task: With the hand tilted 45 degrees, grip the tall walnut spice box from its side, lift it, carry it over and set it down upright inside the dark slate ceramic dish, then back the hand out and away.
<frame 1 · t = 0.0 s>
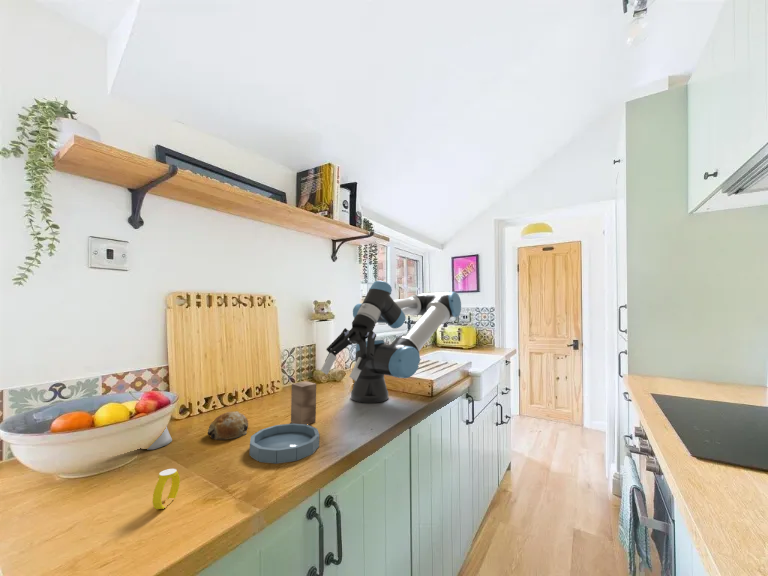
hand: (337, 375, 100), 15 cm above the countertop, tool tilted 35°, fingers open, 13 cm apart
spice box: (303, 422, 102), on the countertop
bread roll: (228, 435, 92), on the countertop
watch: (166, 505, 59), on the countertop
dish: (285, 447, 84), on the countertop
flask: (154, 445, 85), on the countertop
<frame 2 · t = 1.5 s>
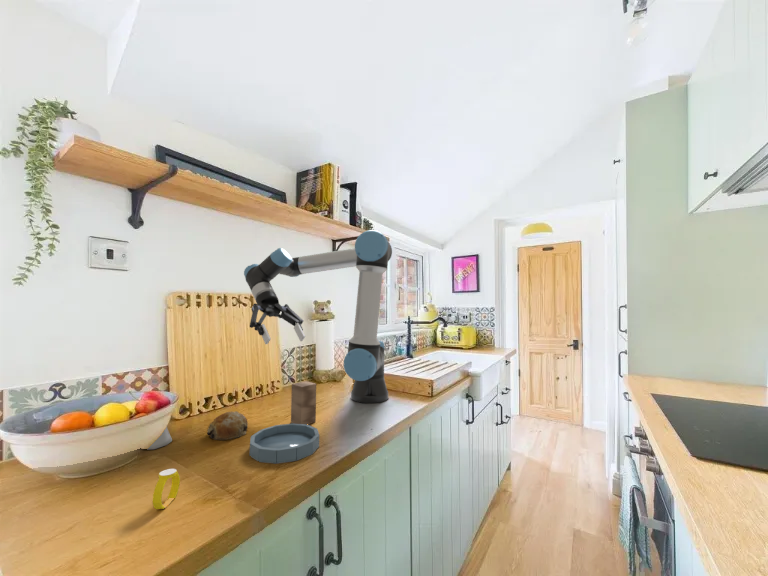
hand: (286, 340, 110), 25 cm above the countertop, tool tilted 45°, fingers open, 13 cm apart
nothing on the countertop moved.
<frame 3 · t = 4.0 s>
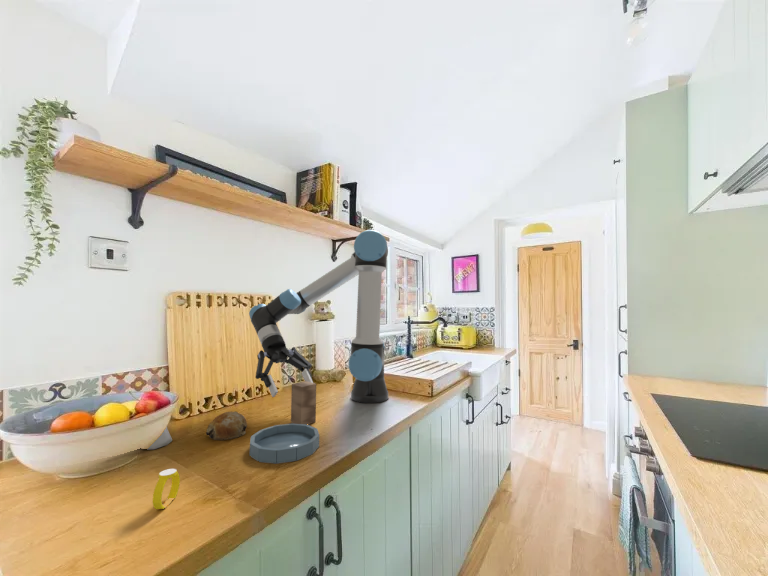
hand: (294, 390, 105), 9 cm above the countertop, tool tilted 45°, fingers open, 13 cm apart
nothing on the countertop moved.
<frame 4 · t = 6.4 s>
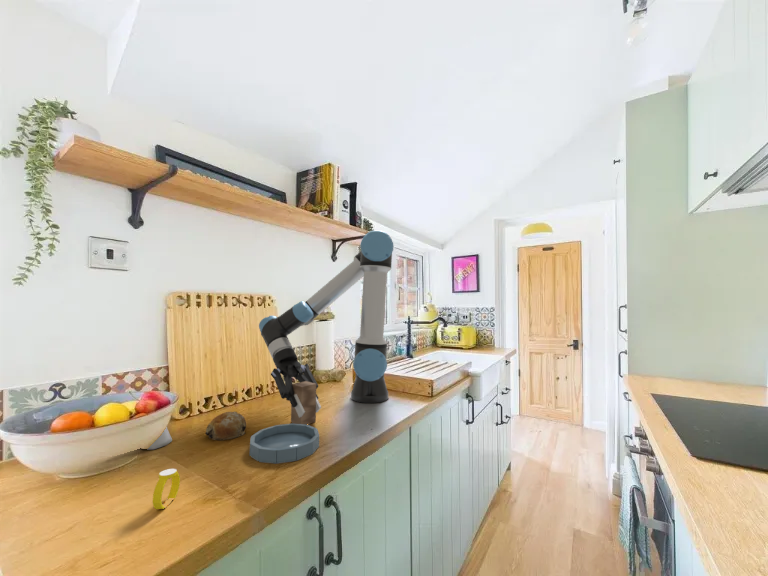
hand: (310, 412, 100), 4 cm above the countertop, tool tilted 45°, fingers closed on spice box, 5 cm apart
spice box: (303, 422, 102), on the countertop, touching gripper
everything else where it was.
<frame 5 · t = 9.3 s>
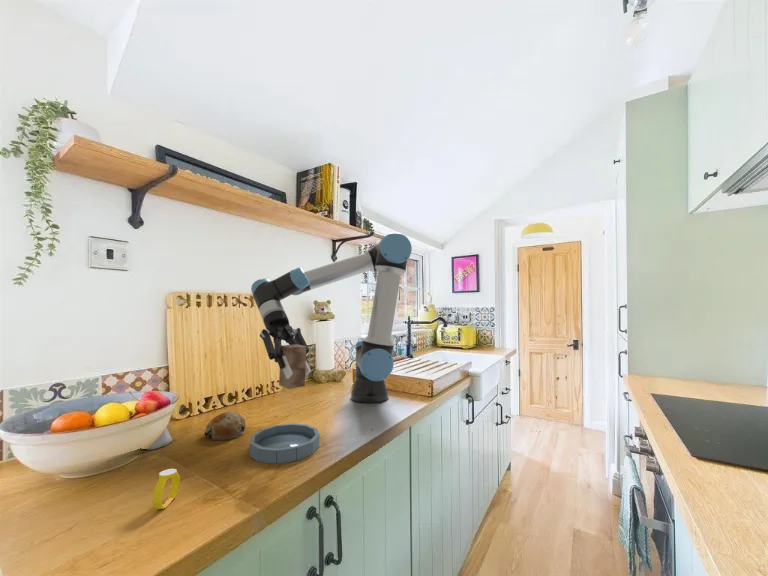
hand: (299, 374, 95), 16 cm above the countertop, tool tilted 45°, fingers closed on spice box, 5 cm apart
spice box: (291, 385, 98), point 13 cm above the countertop, touching gripper
everything else where it was.
when the fingers open (6 cm above the countertop, at t = 12.7 s): spice box drops 1 cm, resting on dish.
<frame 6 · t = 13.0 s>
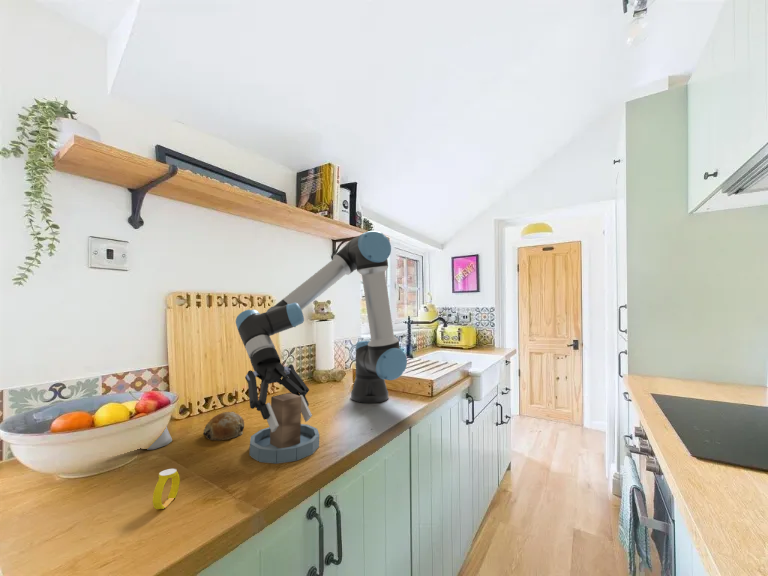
hand: (292, 423, 82), 7 cm above the countertop, tool tilted 45°, fingers open, 9 cm apart
spice box: (285, 443, 84), point 1 cm above the countertop, touching dish
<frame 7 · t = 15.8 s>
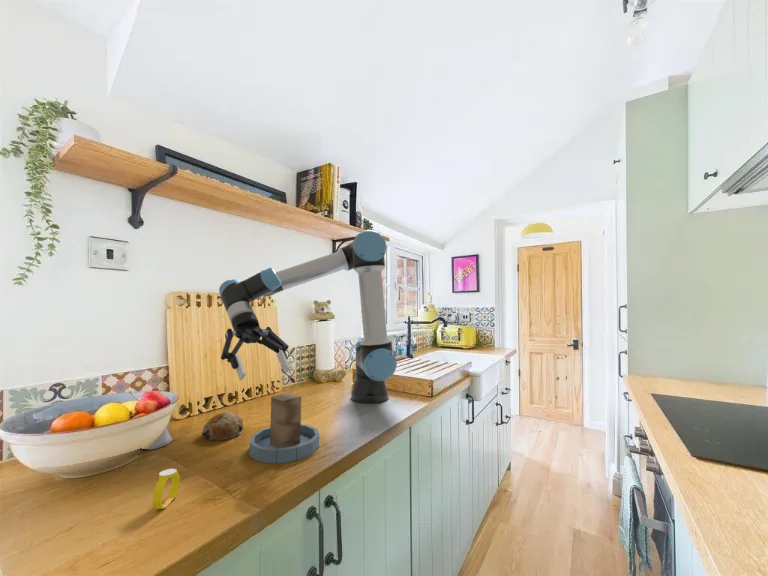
hand: (266, 373, 92), 18 cm above the countertop, tool tilted 45°, fingers open, 13 cm apart
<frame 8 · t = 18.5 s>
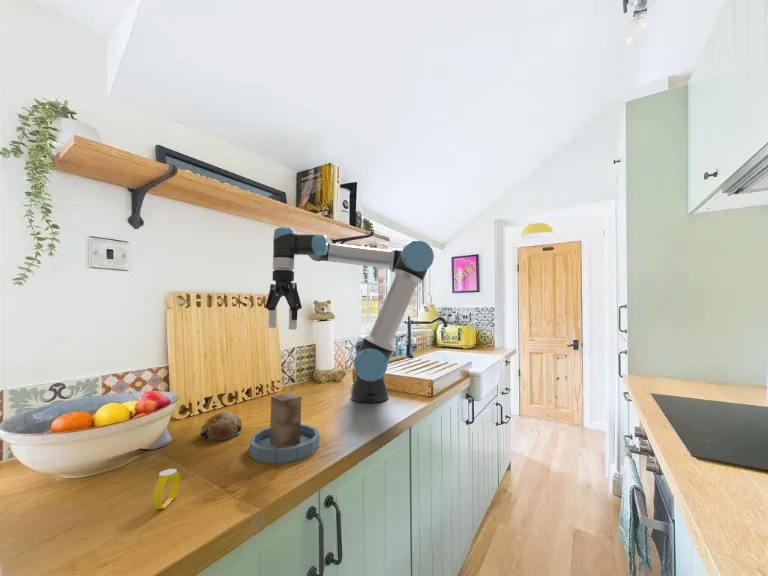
hand: (282, 328, 116), 29 cm above the countertop, tool pointing down, fingers open, 13 cm apart
at the end: spice box inside the target area on the dish (0.1 cm from its centre), point 1.0 cm above the dish's base; spice box tilted 0°; the gripper is holding nothing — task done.
